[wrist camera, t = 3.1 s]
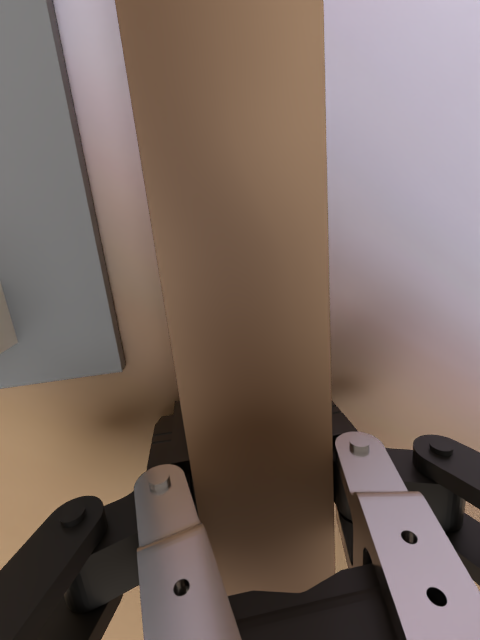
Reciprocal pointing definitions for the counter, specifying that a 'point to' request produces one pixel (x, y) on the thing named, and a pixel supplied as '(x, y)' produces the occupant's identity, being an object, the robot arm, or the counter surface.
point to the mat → (47, 214)
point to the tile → (6, 325)
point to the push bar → (243, 268)
